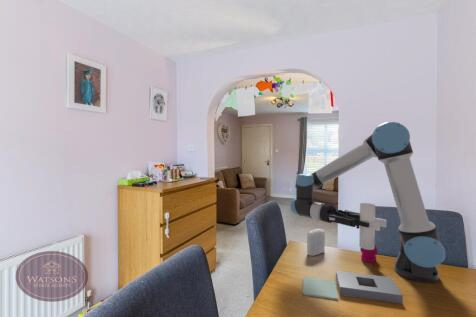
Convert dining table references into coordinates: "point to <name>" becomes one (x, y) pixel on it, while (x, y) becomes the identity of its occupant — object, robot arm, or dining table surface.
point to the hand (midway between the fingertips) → (382, 225)
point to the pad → (319, 288)
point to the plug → (367, 234)
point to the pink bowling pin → (369, 254)
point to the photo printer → (315, 242)
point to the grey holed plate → (380, 291)
